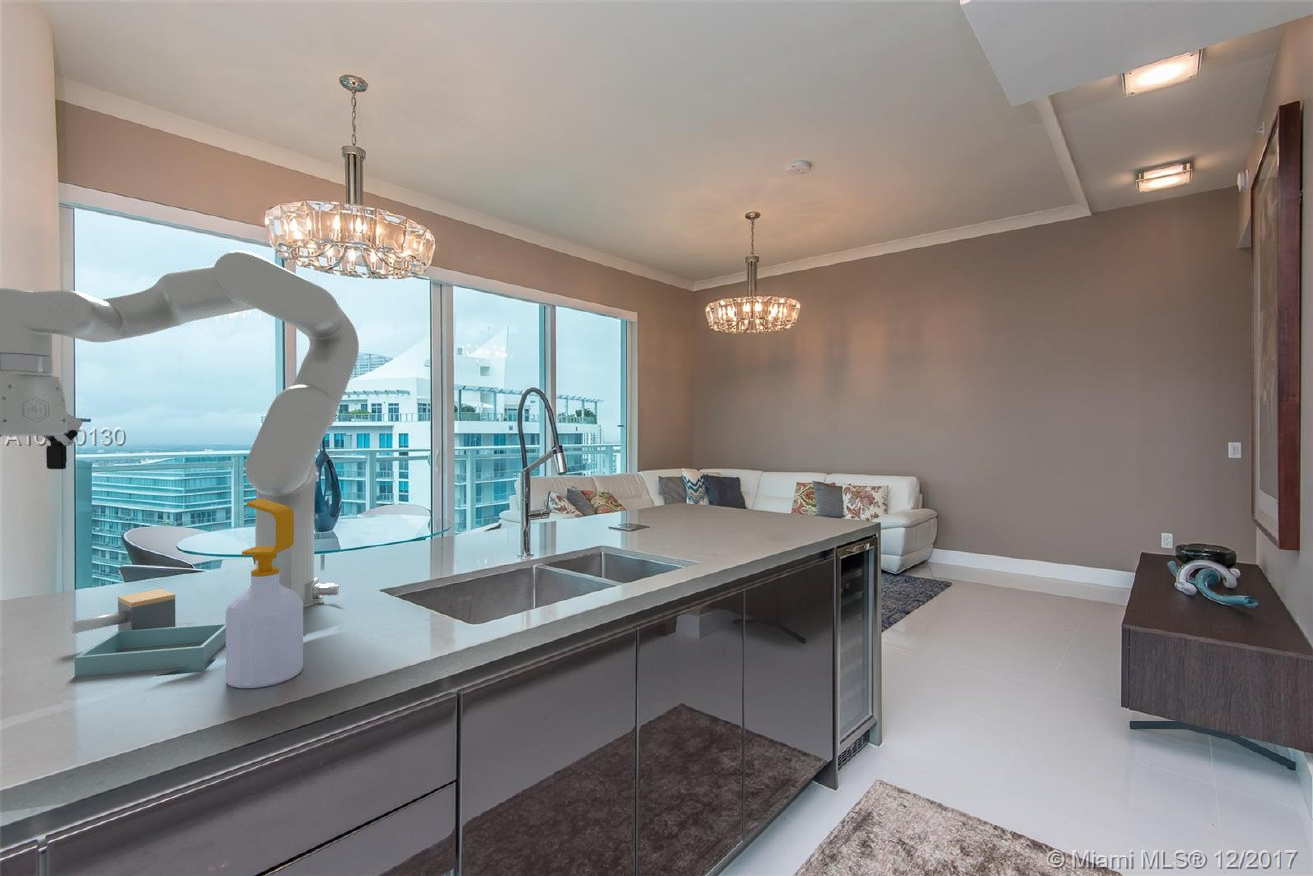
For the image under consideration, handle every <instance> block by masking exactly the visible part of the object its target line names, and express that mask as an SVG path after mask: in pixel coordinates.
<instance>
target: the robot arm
mask: <svg viewBox="0 0 1313 876" xmlns="http://www.w3.org/2000/svg"><path fill="white" fill-rule="evenodd" d="M254 309H256V310H258V311H261V312H263V313H266V314H267V315H269V316H271V317H274V318H275V319H277V320H279V321H282V322H284V323H286V324H289V325H290V326H292V327H295V329H297V330H298V331H299V332H301V333H302V334H303V335H305V336H306V337H307V338H308V341H309V347H308V351H307V352H306V354H305V356H304V358H303V360H302V363H301V365H300V368H299V370H298V373H297V375H296V377H295V379H294V381H293V383H292V385H291V386H290V387H287V388H285V389H283V390H282V391H281V392H280V393H278V394H277V396H276V397H275V398H274V400H272V403H271V405H270V407H269V408H268V411H267V413H266V415H265V418H264V420H263V421H262V424H261V426H260V429H259V431H258V433H257V435H256V438H255V440H254V442H253V444H252V446H251V449H250V451H249V454H248V455H247V458H246V461H245V466H244V468H245V469H244V471H245V473H244V474H245V476H246V479H247V482H248V483H249V484H250V486H251V487H252V488H253V489H255V490H256V497H255V500H257V499H265V500H269V501H272V502H275V503H279V504H282V505H285V506H288V507H289V508H291V510H292V511H293V514H294V542H293V545H292V546H291V547H290V548H288V549H285V550H283V551H280V552H278V553H277V558H275V559H272V567H277V568H279V583H280V584H281V585H282V586H284V587H286V588H289V589H292V590H293V591H295V592H296V593H298V594H299V595H300V597H301V600H302V602H303V608H307V607H310V606H313V605H315V604H318V603H321V604H323V602H324V596H329V597H331V596H338V595H339V594H340V585H339V584H335V583H333V582H332V583H326V584H322V582H319V577H318V576H317V577H315V499H316V498H315V497H316V496H315V495H316V494H315V493H316V479H317V478H316V475H317V466H316V459H315V458H316V456H317V453H318V451H319V449H320V447H321V444H322V442H323V440H324V438H325V435H326V433H327V431H328V430H329V429H330V428H331V427H332V425H333V424H334V421H335V419H336V415H337V412H338V409H339V407H340V404H341V402H342V400H343V397H344V395H345V392H346V390H347V387H348V384H349V382H350V379H351V377H352V374H353V371H354V368H355V366H356V363H357V360H358V357H359V351H360V350H359V349H360V347H359V343H360V342H359V338H358V334H357V331H356V329H355V326H354V324H353V323H352V321H351V320H350V318H349V317H348V316H347V314H346V313H345V312H344V311H343V309H342V308H341V307H340V305H339V304H338V302H337V300H336V298H335V297H334V296H333V295H332V294H331V293H330V292H329V291H328V290H326V289H325V288H323V287H322V286H320V285H318V284H317V283H314V282H313V281H311V280H309V279H306V278H304V277H302V276H300V275H298V274H296V273H294V272H293V271H290V270H288V269H286V268H284V267H282V266H280V265H278V264H276V263H273V261H270V260H268V259H266V258H264V257H262V256H260V255H258V254H256V253H254V252H250V251H245V250H234V251H233V250H232V251H229V252H227V253H224V254H223V255H222V256H220V257H219V258H218V259H217V260H216V261H215V263H214V265H211V266H205V267H200V268H198V267H197V268H192V269H187V270H181V271H174V272H169V273H166V274H164V275H162V276H161V277H160V278H159V279H158V280H157V282H156V283H155V284H153V285H152V286H151V287H149V288H148V289H145V290H143V291H139V292H136V293H130V294H127V295H122V296H116V297H115V296H114V297H109V298H102V299H98V298H96V297H94V296H91V295H88V294H86V293H83V292H79V291H77V290H68V289H67V290H46V291H45V290H43V291H42V290H41V291H40V290H39V291H32V290H25V289H18V288H4V287H0V438H2V437H3V436H5V437H33V436H34V437H36V436H38V437H39V436H41V437H43V438H44V439H45V440H46V441H47V442H48V443H49V444H50V445H46V448H45V450H46V451H45V453H46V456H45V458H46V468H47V469H48V470H65V469H66V468H67V461H68V459H67V454H68V453H67V446H70V445H71V443H72V440H74V439H75V438H76V437H77V435H78V431H80V429H81V426H82V424H83V421H82V419H79V418H78V417H75V416H73V415H71V414H69V413H68V412H67V407H66V406H67V404H66V403H67V402H66V398H65V393H64V389H63V385H62V383H61V380H60V378H59V376H54V372H53V371H54V369H53V367H54V365H53V335H59V336H65V337H69V338H72V339H78V340H82V341H86V342H90V343H91V342H92V343H110V342H114V341H120V340H126V339H131V338H132V339H133V338H135V337H136V338H138V337H141V336H146V335H151V334H154V333H155V334H156V333H158V332H161V331H165V330H168V329H172V328H175V327H179V326H181V325H184V324H185V323H190V322H193V321H199V320H204V319H209V318H214V317H219V316H224V315H229V314H235V313H239V312H244V311H249V310H254ZM254 524H255V529H254V530H255V533H254V534H255V535H254V536H255V538H254V539H255V541H254V543H255V544H254V545H255V546H254V547H257V546H276V521H275V517H274V516H273V515H272V514H271V513H269V512H265V511H262V510H259V509H256V508H255V523H254ZM254 562H255V565H254V566H255V569H258V561H256V560H254Z"/></svg>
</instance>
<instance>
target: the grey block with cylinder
mask: <svg viewBox="0 0 1313 876" xmlns="http://www.w3.org/2000/svg"><path fill="white" fill-rule="evenodd" d="M175 624H176V594H175V593H173V592H171V591H168V590H165V589H163V588H157V589H153V590H147V591H142V592H136V593H135V592H134V593H132V594H131V593H130V594H125V595H120V596H117V612H113V613H112V612H111V613H108V614H103V615H97V616H93V617H88V618H84V619H83V618H82V619H78V620H73V621H71V622H70V630H71V632H72V634H78V633H83V632H87V631H88V632H89V631H92V630H97V629H101V628H102V629H103V628H107V627H112V626H116V625H117V631H126V630H140V629H154V628H168V627H175Z"/></svg>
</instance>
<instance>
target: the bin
mask: <svg viewBox="0 0 1313 876" xmlns="http://www.w3.org/2000/svg"><path fill="white" fill-rule="evenodd" d="M196 643H197V644H198V643H202V644H201V645H199V646H188V647H187V646H185V647H177V648H176V647H175V648H174V647H172V648H161V649H152V650H151V649H150V650H137V651H125V652H117V651H119V650H123V649H124V650H125V649H134V648H149V647H157V646H158V647H160V646H173V645H182V644H183V645H185V644H196ZM224 646H226V622H225V623H224V622H223V623H211V624H210V623H209V624H199V625H189V626H182V627H168V628H154V629H140V630H126V631H118V630H117V631H116V632H114V633H112V634H110V635H109V636H108V637H106V638H104V639H103V640H100V641H99V642H98V643H96V644H95V645H93V646H91V647H90V648H87V649H86V650H85V651H83V652H81V653H80V654H78V655H77V656H75V657H74V659H73V660H74V677H82V676H83V677H84V676H93V675H106V674H118V673H128V672H129V673H130V672H138V671H139V672H140V671H142V672H143V671H151V670H153V671H154V670H164V669H165V670H166V669H174V668H178V669H175V670H172V671H168V672H164V673H161V674H158V675H156V677H162V676H170V675H171V676H172V675H173V676H174V675H183V674H192V673H194V674H195V673H202V672H205V671H206V670H207V668H209V667H210V666H211V665H212V664H213V663H214V662H215V661H216V660H217V658H214V659H211V658H212V657H213V656H215V654H217V652H218V651H220V650H221V649H222V648H223V647H224ZM210 659H211V660H210Z"/></svg>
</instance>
